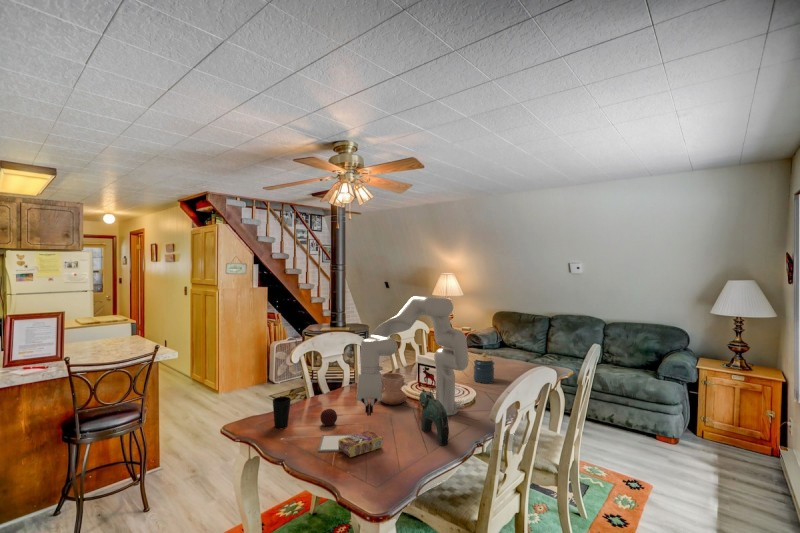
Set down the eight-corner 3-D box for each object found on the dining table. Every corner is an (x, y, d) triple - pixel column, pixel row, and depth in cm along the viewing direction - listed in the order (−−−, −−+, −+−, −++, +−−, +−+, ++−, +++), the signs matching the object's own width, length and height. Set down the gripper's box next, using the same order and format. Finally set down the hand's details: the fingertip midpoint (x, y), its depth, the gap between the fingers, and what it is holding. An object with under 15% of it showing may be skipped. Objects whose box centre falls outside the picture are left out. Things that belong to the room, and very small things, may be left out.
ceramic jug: (412, 400, 213) (412, 373, 213) (402, 409, 199) (403, 381, 199) (381, 395, 219) (382, 370, 219) (370, 404, 206) (371, 376, 206)
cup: (293, 424, 177) (294, 398, 177) (282, 431, 170) (282, 403, 170) (280, 421, 180) (280, 395, 180) (268, 427, 174) (268, 400, 174)
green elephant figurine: (417, 428, 176) (418, 383, 176) (430, 426, 178) (431, 382, 178) (439, 447, 157) (439, 397, 157) (453, 444, 160) (453, 395, 160)
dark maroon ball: (317, 424, 178) (317, 409, 178) (330, 420, 183) (331, 405, 183) (326, 429, 173) (327, 413, 173) (340, 424, 178) (341, 409, 178)
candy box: (383, 436, 156) (350, 447, 146) (383, 447, 156) (350, 458, 146) (370, 429, 163) (338, 439, 153) (370, 439, 163) (338, 450, 153)
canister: (473, 383, 246) (474, 354, 246) (473, 377, 259) (473, 350, 259) (494, 384, 244) (495, 356, 244) (493, 378, 257) (493, 351, 257)
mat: (374, 435, 167) (374, 434, 167) (374, 450, 154) (374, 449, 154) (322, 436, 166) (322, 435, 166) (317, 451, 152) (317, 450, 152)
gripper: (387, 367, 165) (387, 411, 165) (351, 367, 163) (351, 411, 163) (388, 372, 157) (387, 417, 157) (350, 372, 156) (350, 418, 156)
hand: (369, 414), depth 160 cm, fingers closed
